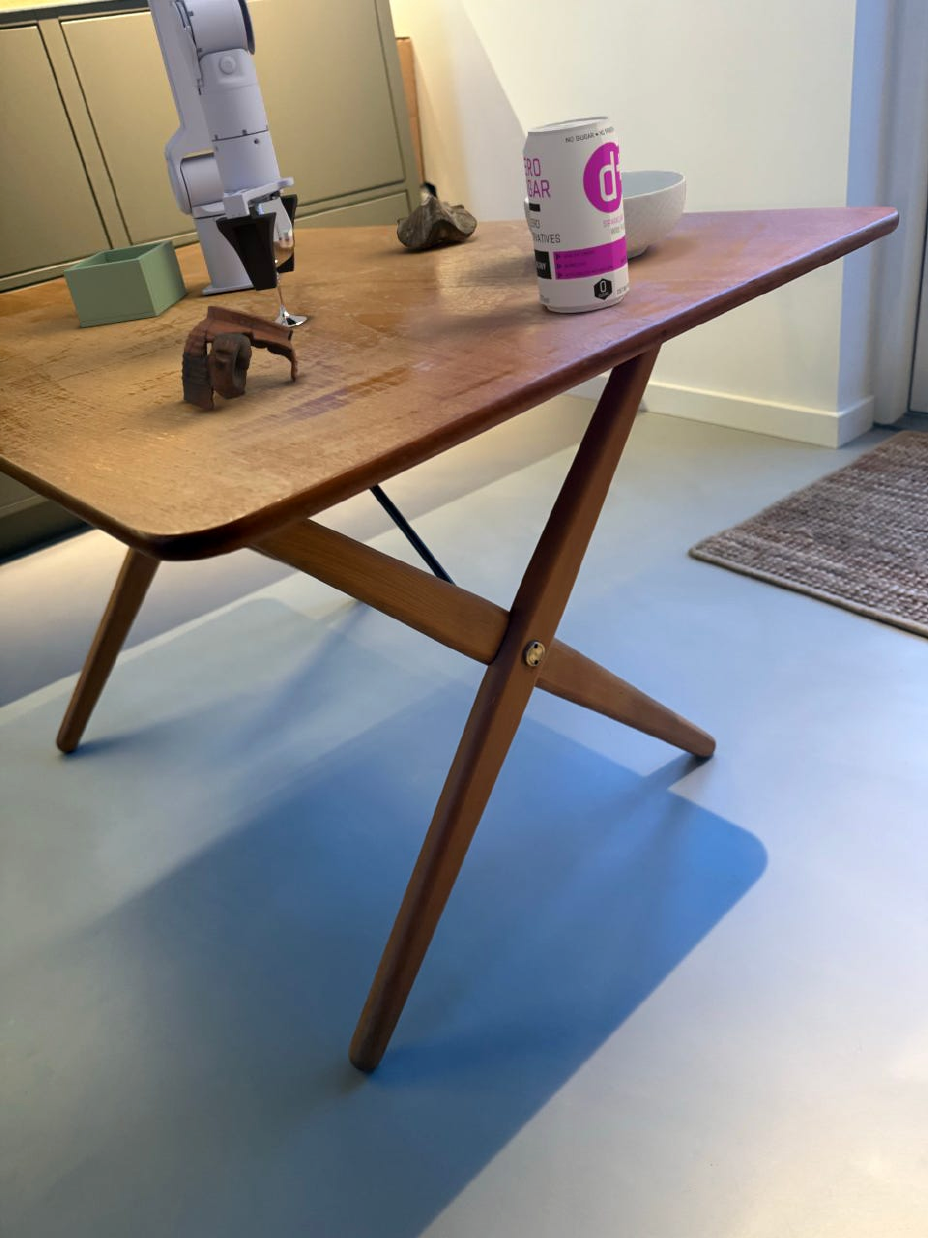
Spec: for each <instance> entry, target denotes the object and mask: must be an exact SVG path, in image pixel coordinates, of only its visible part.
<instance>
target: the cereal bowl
mask: <svg viewBox="0 0 928 1238" xmlns="http://www.w3.org/2000/svg"><path fill="white" fill-rule="evenodd" d="M621 183H622V196H623V210H624V223H625V237H626V250H627V260H629V259H632V258H635V257H638V256H640V255H642V254H643V253H645V252H646V249H647V248H648V247H649V246H651V245H653V244H655V243H656V242H658V241H660V240H662V239H664V237H666V236H667V235H668V234H670V233H671V232H672V231H673V230H674V229H675V227H676V226H677V224H678V223H679V221H680V219H681V217H682V215H683V214H684V209H685V205H686V199H687V178H686V176H685V175H684V174H683V173H681V172H679V171H674V170H665V169H646V170H645V169H643V170H629V171H628V170H627V171H621ZM523 210H524V215H525V220H526V225H527V227H528V230H529V232H530V235H531V236H532V237H533V235H532V227H531V218H530V210H529V201H528V195H527V196H525V198H524V199H523Z"/></svg>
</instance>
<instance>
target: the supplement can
mask: <svg viewBox="0 0 928 1238" xmlns="http://www.w3.org/2000/svg"><path fill="white" fill-rule="evenodd" d="M522 157H523V166H524V175H525V183H526V184H525V185H526V192H527V193H526V194H527V196H528V201H529V210H530V218H531V227H532V234H531V236H532V235H533V236H532V242H533V251H534V259H535V260H534V261H535V269H536V277H537V284H538V293H539V300H540V301H539V302H540V303H541V304H543V305H544V306H546V307H547V310H549V311H551V312H554V313H561V314H570V313H571V314H572V313H573V314H574V313H575V314H576V313H584V312H592V311H596V310H601V309H605V308H607V307H611V306H614V305H616V304H617V303H620V302H621V301H622V300H623V299H624V296H625V295H626V294H627V292H629V291H630V280H629V279H630V277H629V267H628V265H629V264H628V259H627V250H626V237H625V223H624V210H623V196H622V183H621V172H622V171H621V169H622V168H621V159H620V143H619V135H618V134H617V132H616V130H615V129H614V127H613V125H612V124H611V122H610V117H609V116H604V115H603V116H601V115H600V116H590V117H582V118H575V119H568V120H562V121H557V122H552V123H548V124H543V125H539V126H536V127H532V128H530V129H528V130H527V136H526V138H525V142H524V145H523V150H522Z"/></svg>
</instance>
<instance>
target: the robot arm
mask: <svg viewBox="0 0 928 1238" xmlns="http://www.w3.org/2000/svg"><path fill="white" fill-rule="evenodd" d="M146 1H147V4H148V8H149V11H150V16H151V19H152V23H153V27H154V31H155V34H156V35H155V36H156V39H157V41H158V46H159V51H160V53H161V57H162V61H163V64H164V69H165V72H166V75H167V79H168V83H169V87H170V91H171V93H172V97H173V101H174V105H175V109H176V113H177V116H178V120H179V127H178V128H177V129H176V131H174V133H173V134H172V136H171V137H170V138H169V139H168V141H167V142H166V144H165V147H164V152H163V153H164V154H163V155H164V158H165V161H166V168H167V174H168V178H169V183H170V185H171V189H172V192H173V196H174V199H175V202H176V204H177V207H178V209H179V211H180V212H182V213H183V214H184V215H185V216H190V217H192V218H193V222H194V227H195V231H196V234H197V237H198V241H199V244H200V249H201V251H202V255H203V259H204V262H205V265H206V270H207V274H208V277H209V280H210V284H209V285H208V286H207V287H205V288H204V289H203V290H201V293H202V295H203V296H205V295H212V294H218V293H219V294H220V293H225V292H232V291H238V290H246V289H252V288H254V289H255V291H256V292H259V291H266V290H275V288H276V287H277V272H278V273H279V275H280V274H287V273H291V272H294V271H295V250H294V251H293V254H292V255H291V257H290V258H289V259H288V260H287V261H286V262H284V263H283V264H282V265H280V266H278V267H277V268H276V263H275V255H274V225H275V220H276V215H277V213H276V212H272V213H266V214H260V215H259V212H256V211H255V207H254V206H253V205H255V204H260V203H263V202H265V201H266V199H265V198H266V197H280V199H281V201H282V203H283V205H284V207H285V210H286V212H287V214H288V216H289V219H290V222H291V225H292V228H293V232H294V230H295V229H294V226H295V218H296V211H297V207H298V203H299V198H298V194H295V193H294V194H292V193H291V194H286V195H282V194H284V193H285V192H284V188H289V187H292V186H294V185H295V181H294V178H293V176H289V177H281V173H280V168H279V164H278V161H277V156H276V152H275V148H274V144H273V139H272V135H271V130H270V126H269V122H268V118H267V117H268V116H267V113H266V109H265V105H264V101H263V96H262V92H261V88H260V83H259V79H258V74H257V70H256V66H255V62H254V58H253V56H254V55H255V54H256V39H255V30H254V29H255V28H254V24H253V18H252V15H251V10H250V7H249V4H248V1H247V0H146ZM209 150H212V152H206V153H202V154H198V155H191V156H188V155H190V154H195V153H200V152H205V151H209Z"/></svg>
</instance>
